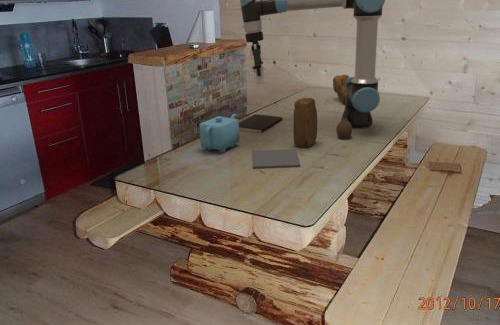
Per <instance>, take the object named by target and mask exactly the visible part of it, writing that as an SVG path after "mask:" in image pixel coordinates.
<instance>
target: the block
mask: <svg viewBox="0 0 500 325" xmlns="http://www.w3.org/2000/svg"><path fill="white" fill-rule="evenodd" d="M292 120H293V121H292V122H293V126H292V127H293V128H292V129H293V132H292V133H293V143H294V145H295V146H296V147H301V148H308V147H312V146H313V145H314V144H315V142H316V140H317V136H318V111H317V107H316V99H315V98H312V97H302V98H300V99H297V100H296V101H295V102H294V110H293V119H292Z"/></svg>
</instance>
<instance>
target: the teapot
mask: <svg viewBox="0 0 500 325" xmlns="http://www.w3.org/2000/svg"><path fill="white" fill-rule="evenodd" d="M236 116H237V113H233V114H232V115H231V116H230V117H224V116H221V115H219V116H215V117H213V118H211V119H208V120H206V121H204V122H200V123H199V124H198V125H199V137H200V146H201V147H202V148H206V150H208V151H211V150H218V153H225V152H226V149H228V148H232V149H233V148H235V144H238V143H239V142H240V130H239V119H238V118H236Z"/></svg>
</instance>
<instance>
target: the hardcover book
mask: <svg viewBox="0 0 500 325" xmlns="http://www.w3.org/2000/svg"><path fill="white" fill-rule="evenodd" d="M283 118H284V117H282V116H275V115H266V114H257V113H256V114H255V113H254V114H253V115H251V116H249V117H247V118H245V119H244V120H241V121H240V122H239V131H245V132H253V133H259V132H260V133H259V134H262V133H264V132H266V131H268V130H269V129H271V128H273V127H274V126H276V125H277V124H279V123H281V122H282V121H283ZM280 121H281V122H280ZM275 124H276V125H275Z"/></svg>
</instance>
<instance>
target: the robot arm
mask: <svg viewBox="0 0 500 325" xmlns="http://www.w3.org/2000/svg"><path fill="white" fill-rule="evenodd" d="M239 1H240V2H239V3H240V9H241V15H242V22H243V25H242V29H244V33H245V35H244V36H245V42H246V43H251V44H252V45H251V46H250V48H251V52H252V56H253V67H252V68H253V70H255V76H256V78H255V79H256V84H257V85H260V84H261V85H262V84H264V79H265V77H264V69H263V64H264V61H263V60H262V57H261V53H262V49H261V48H262V47H261V44H260V43H259V42H260V41H261V42H262V41H264V34H263V31H262V30H263V25H262V19H261V17H263V16H270V15H276V14H282V13H286V12H291V11H293V12H294V11H305V10H317V9H327V8H328V9H330V8H342V9H343V10H347V9H353V18H354V19H355V21H356V36H355V37H356V38H355V67H354V68H355V69H354V71H355V72H354V76H349V78H347V80H346V97H345V104H344V111H343V113H342V116H341V117H340V121H341V120H342V118H347V119H348V121H349V122H350V124H351V126H352V129H364V128H369V127H371V126H373V122H374V120H373V119H374V118H373V117H372V111H374V110H375V109H376V108H377V107H378V106H379V104H380V101H381V100H380V98H381V97H380V92H379V79H378V78H377V77H376V64H377V47H378V46H377V45H378V44H377V43H378V27H379V26H378V25H379V19H381V17H382V16H383V6H384V4H385V1H386V0H239Z"/></svg>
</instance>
